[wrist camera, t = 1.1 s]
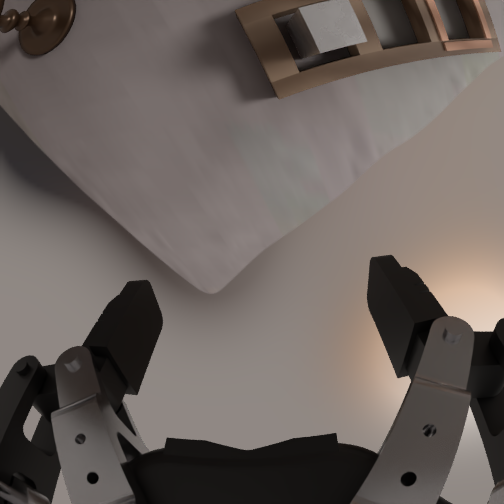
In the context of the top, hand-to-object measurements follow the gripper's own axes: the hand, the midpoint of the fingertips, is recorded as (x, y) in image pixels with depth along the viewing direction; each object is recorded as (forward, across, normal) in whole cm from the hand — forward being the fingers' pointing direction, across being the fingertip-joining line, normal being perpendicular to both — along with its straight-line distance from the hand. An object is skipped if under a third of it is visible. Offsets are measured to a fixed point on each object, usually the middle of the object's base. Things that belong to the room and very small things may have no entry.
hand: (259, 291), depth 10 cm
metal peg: (+22, -7, -14) cm, 27 cm away
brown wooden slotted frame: (+22, -16, -16) cm, 31 cm away
